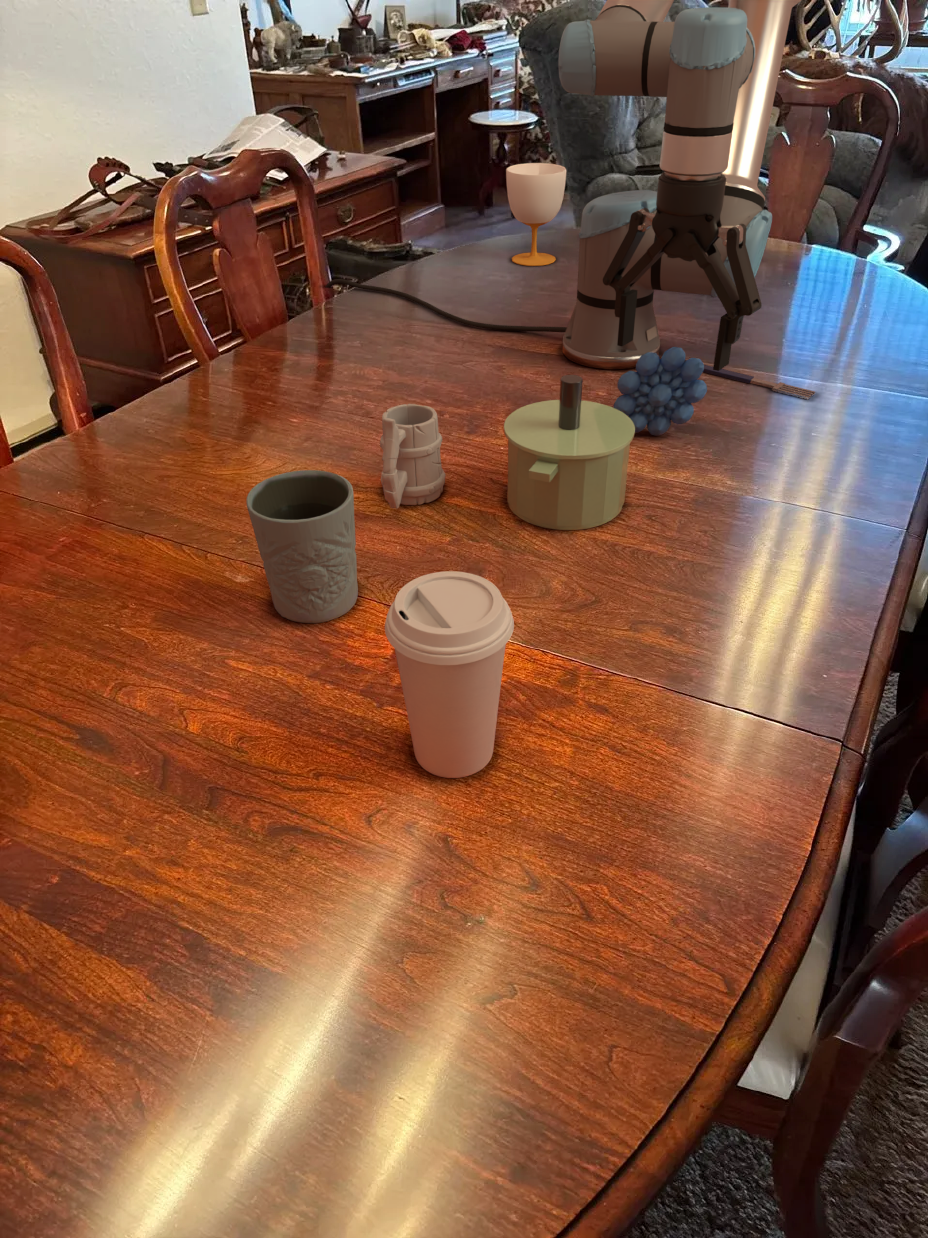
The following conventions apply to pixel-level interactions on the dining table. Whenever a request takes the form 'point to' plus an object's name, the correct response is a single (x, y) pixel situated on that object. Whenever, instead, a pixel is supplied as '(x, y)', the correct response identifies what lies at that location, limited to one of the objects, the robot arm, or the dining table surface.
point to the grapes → (661, 390)
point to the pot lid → (569, 426)
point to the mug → (411, 455)
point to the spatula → (761, 382)
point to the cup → (535, 202)
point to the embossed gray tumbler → (307, 543)
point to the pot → (566, 488)
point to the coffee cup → (450, 667)
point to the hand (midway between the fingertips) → (671, 354)
